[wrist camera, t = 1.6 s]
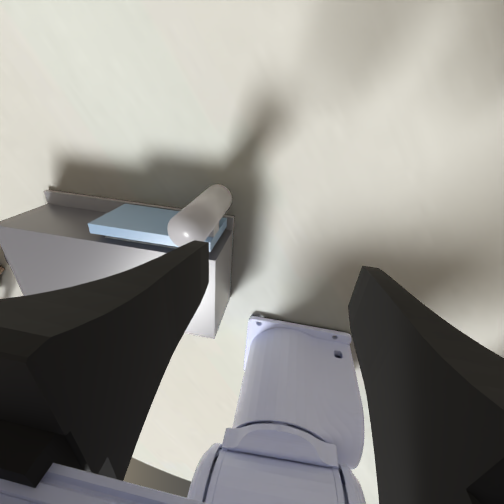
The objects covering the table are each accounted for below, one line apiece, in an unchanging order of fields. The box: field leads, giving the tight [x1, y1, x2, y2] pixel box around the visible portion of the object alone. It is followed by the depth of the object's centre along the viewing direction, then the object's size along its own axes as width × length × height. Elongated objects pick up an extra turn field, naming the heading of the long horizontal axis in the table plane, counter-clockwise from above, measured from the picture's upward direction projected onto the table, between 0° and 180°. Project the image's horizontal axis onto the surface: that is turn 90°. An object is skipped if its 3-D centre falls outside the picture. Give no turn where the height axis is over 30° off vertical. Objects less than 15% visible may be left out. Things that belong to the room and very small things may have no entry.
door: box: [88, 184, 232, 252], centre depth 16 cm, size 9×3×6 cm, turn 85°
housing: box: [0, 190, 234, 339], centre depth 21 cm, size 17×8×5 cm, turn 85°
